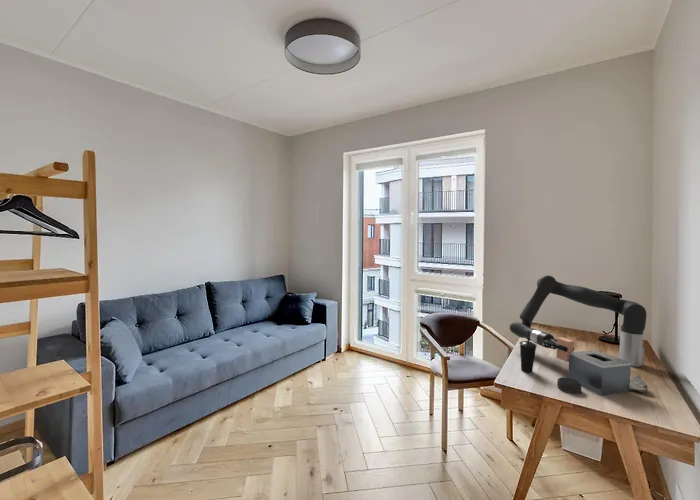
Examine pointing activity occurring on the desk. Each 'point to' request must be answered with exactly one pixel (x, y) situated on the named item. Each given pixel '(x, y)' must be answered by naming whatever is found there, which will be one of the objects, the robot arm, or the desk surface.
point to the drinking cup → (527, 355)
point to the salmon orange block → (566, 343)
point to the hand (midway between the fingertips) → (570, 349)
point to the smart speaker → (569, 385)
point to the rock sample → (638, 384)
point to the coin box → (599, 372)
